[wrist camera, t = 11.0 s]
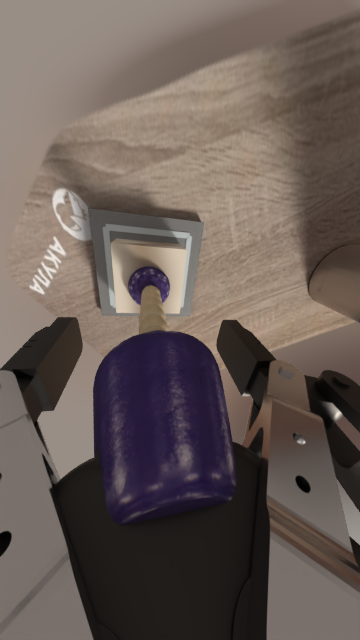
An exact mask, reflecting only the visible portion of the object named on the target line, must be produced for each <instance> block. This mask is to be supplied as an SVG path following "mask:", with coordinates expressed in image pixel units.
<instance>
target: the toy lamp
mask: <svg viewBox="0 0 360 640" xmlns="http://www.w3.org/2000/svg"><path fill="white" fill-rule="evenodd" d="M128 290H129V293H130V296H131V297H132V299H133V300H134V301H135V302H136V303H137V304H138V305H140V316H139V322H140V326H139V335H136V336H133V337H131V338H129V339H127V340H125V341H123V342H121V343H120V344H119V345H118V346H116V347H114V348H113V349H112V350H111V351H110V352H109V353H108V354H107V356H105V358H104V359H103V360H102V362H101V364H100V365H99V368H98V370H97V373H96V376H95V381H94V387H93V399H94V400H93V406H94V410H93V411H94V457H96V452H97V448H98V446H99V465H101V470H102V481H103V490H104V496H105V502H106V508H107V510H108V512H109V514H110V516H111V518H112V520H113V521H115V522H116V523H117V524H119V525H127V524H132V523H136V522H141V521H146V520H150V519H155V518H160V517H164V516H169V515H173V514H177V513H182V512H187V511H191V510H196V509H200V508H205V507H209V506H214V505H218V504H222V503H225V502H228V501H230V500H231V499H232V498H233V496H234V493H235V489H236V480H237V477H236V467H235V458H234V450H233V442H232V436H231V430H230V423H229V417H228V412H227V407H226V401H225V396H224V390H223V385H222V380H221V375H220V370H219V367H218V364H217V362H216V360H215V358H214V356H213V354H212V352H211V351H210V350H209V349H208V347H207V346H205V345H204V343H202V342H201V341H199V340H198V339H197V338H195V337H193V336H190V335H188V334H185V333H181V332H174V331H168V326H167V323H166V322H165V314H164V311H163V310H164V308H163V304H162V303H164V302H165V300H166V299H167V297H168V296H169V292H170V283H169V279H168V277H167V276H166V275H165V273H164V272H162V271H161V270H160V269H158V268H155V267H151V266H149V267H142V268H139V269H137V270H136V271H135V272H134V273H133V274H132V275H131V276H130V279H129V282H128Z"/></svg>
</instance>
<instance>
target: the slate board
mask: <svg viewBox="0 0 360 640" xmlns="http://www.w3.org/2000/svg"><path fill="white" fill-rule="evenodd" d="M88 212H89V219H90V227H91V235H92V242H93V250H94V258H95V266H96V273H97V281H98V289H99V296H100V304H101V312H102V315H114V316H140V313H116V304H115V292H114V280H113V268H112V256H111V244H110V243H111V242H112V241H114V240H115V239H128V240H138V241H149V242H160V243H170V244H180V245H181V246H183V247H184V248H185V249H187V254H186V263H185V272H184V280H183V289H182V297H181V306H180V314H165V316H190V313H191V306H192V299H193V293H194V286H195V280H196V273H197V266H198V260H199V253H200V246H201V240H202V233H203V227H204V222H196V221H188V220H180V219H172V218H164V217H156V216H148V215H140V214H132V213H124V212H116V211H108V210H100V209H91V208H88Z"/></svg>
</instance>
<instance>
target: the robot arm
mask: <svg viewBox="0 0 360 640" xmlns="http://www.w3.org/2000/svg"><path fill="white" fill-rule="evenodd" d="M309 293H310V296H311V297H312V299H313V300H315V301H316V302H318V303H320V304H322V305H324V306H326V307H328V308H330V309H332V310H334V311H336V312H338V313H340V314H342V315H344V316H346V317H349V318H351V319H353V320H355V321H357V322H359V323H360V245H354V244H350V245H345V246H342V247H339V248H338V249H336V250H334V251H332V252H331V253H330V254H329V255H327V256H326V257H325V258H324V259H323V260H322V261H321V262H320V264H319V265H318V266H317V268H316V269H315V271H314V273H313V275H312V277H311V280H310V284H309ZM82 346H83V345H82V338H81V333H80V328H79V323H78V320H77V318H75V317H58V318H57V319H56V320H55V321H54V322H53V324H52V325H51V326H50V327H45V328H43V329H41V330H40V331H38V332H36V333H35V334H34V335H33V336H32V337H31V338H30V339H29V340H28V342H26V343H25V344H24V345H23V347H22V348H20V349H19V351H17V353H15V354H14V355H13V357H12V358H11V359H10V360H9V361H8V362H7V363H6V364H5V365H4V366H3V367H2V368H1V369H0V640H360V545H359V544H358V543H357V542H355V541H354V540H353V539H352V538H351V537H350V536H349V534H348V530H347V525H346V521H345V516H344V511H343V507H342V503H341V498H340V494H339V489H338V485H337V480H338V481H339V482H340V484H341V485H342V487H343V488H344V490H345V491H346V493H347V494H348V495H349V497H350V498H351V500H352V501H353V503H354V504H355V506H356V507H357V509H358V510H359V512H360V451H359V450H358V449H357V448H356V446H355V445H354V444H353V443H352V442H351V441H350V440H349V438H348V437H347V436H346V435H345V434H344V433H343V431H342V430H341V429H340V428H339V427H338V426H337V424H336V422H337V421H338V420H339V419H340V418H341V417H342V416H343V415H344V416H345V417H346V418H347V419H348V421H349V422H350V423H352V425H353V426H354V427H355V428H356V429H357V430H358V431H359V432H360V386H359V385H358V384H356V383H355V382H354V381H353V380H351V379H350V378H348V377H346V376H345V375H343V374H340V373H338V372H335V371H331V370H325V371H323V372H322V373H321V375H320V376H319V377H318V378H315V377H311V376H306V375H303V373H302V372H301V371H300V370H299V369H298V368H296V367H295V366H294V365H292V364H290V363H287V362H285V361H280V360H276V359H275V358H274V357H273V355H272V354H271V353H270V352H269V351H268V350H267V349H266V348H265V347H264V346H263V344H261V342H260V341H259V340H257V338H256V337H255V336H254V335H253V334H252V333H251V332H250V331H248V330H247V329H245V328H243V327H242V326H241V324H240V323H239V322H238V321H237V320H223V321H222V323H221V327H220V331H219V335H218V338H217V350H218V352H219V354H220V356H221V358H222V360H223V362H224V363H225V365H226V367H227V369H228V371H229V373H230V375H231V377H232V378H233V380H234V382H235V384H236V386H237V388H238V390H239V392H240V393H241V395H242V396H252V398H253V400H252V402H251V406H250V411H249V417H248V422H247V428H246V434H245V438H244V441H243V444H242V445H240V444H238V443H235V442H233V450H234V458H235V467H236V477H237V480H236V489H235V493H234V496H233V498H232V499H231V500H230V501H228V502H225V503H222V504H218V505H214V506H209V507H205V508H200V509H196V510H191V511H187V512H182V513H177V514H173V515H169V516H164V517H160V518H155V519H150V520H146V521H141V522H136V523H132V524H127V525H119V524H117V523H116V522H115V521H113V520H112V518H111V516H110V514H109V512H108V510H107V508H106V502H105V496H104V490H103V481H102V470H101V465H99V446H98V448H97V452H96V457H94V458H92V459H89V460H88V461H86V462H84V463H82V464H81V465H79V466H77V467H76V468H74V469H73V470H72V471H70V472H69V473H68V474H67V475H65V476H64V477H63V478H62V479H60V477H59V474H58V472H57V470H56V468H55V465H54V463H53V460H52V458H51V455H50V452H49V449H48V447H47V444H46V441H45V439H44V436H43V433H42V430H41V427H40V425H39V422H38V421H37V419H38V417H39V415H40V414H41V412H42V411H53V410H54V409H55V407H56V405H57V403H58V400H59V398H60V396H61V394H62V392H63V390H64V388H65V386H66V384H67V382H68V380H69V378H70V375H71V374H72V372H73V369H74V367H75V365H76V363H77V361H78V359H79V357H80V355H81V352H82ZM336 478H337V480H336Z"/></svg>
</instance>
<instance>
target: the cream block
mask: <svg viewBox="0 0 360 640" xmlns="http://www.w3.org/2000/svg"><path fill="white" fill-rule="evenodd" d="M110 244H111V256H112V268H113V280H114V292H115V304H116V313H140V305H138V304H137V303H136V302H135V301H134V300H133V299H132V297H131V296H130V293H129V290H128V282H129V279H130V276H131V275H132V274H133V273H134V272H135V271H136V270H137V269H139V268H142V267H149V266H151V267H155V268H158V269H160V270H161V271H162V272H164V273H165V275H166V276H167V277H168V279H169V283H170V292H169V296H168V297H167V299H166V300H165V302H164V303H162V304H163V308H164V310H163V311H164V314H180V306H181V297H182V289H183V280H184V272H185V263H186V254H187V249H185V248H184V247H183V246H181V245H180V244H170V243H160V242H149V241H138V240H128V239H115V240H114V241H112V242H111V243H110Z"/></svg>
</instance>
